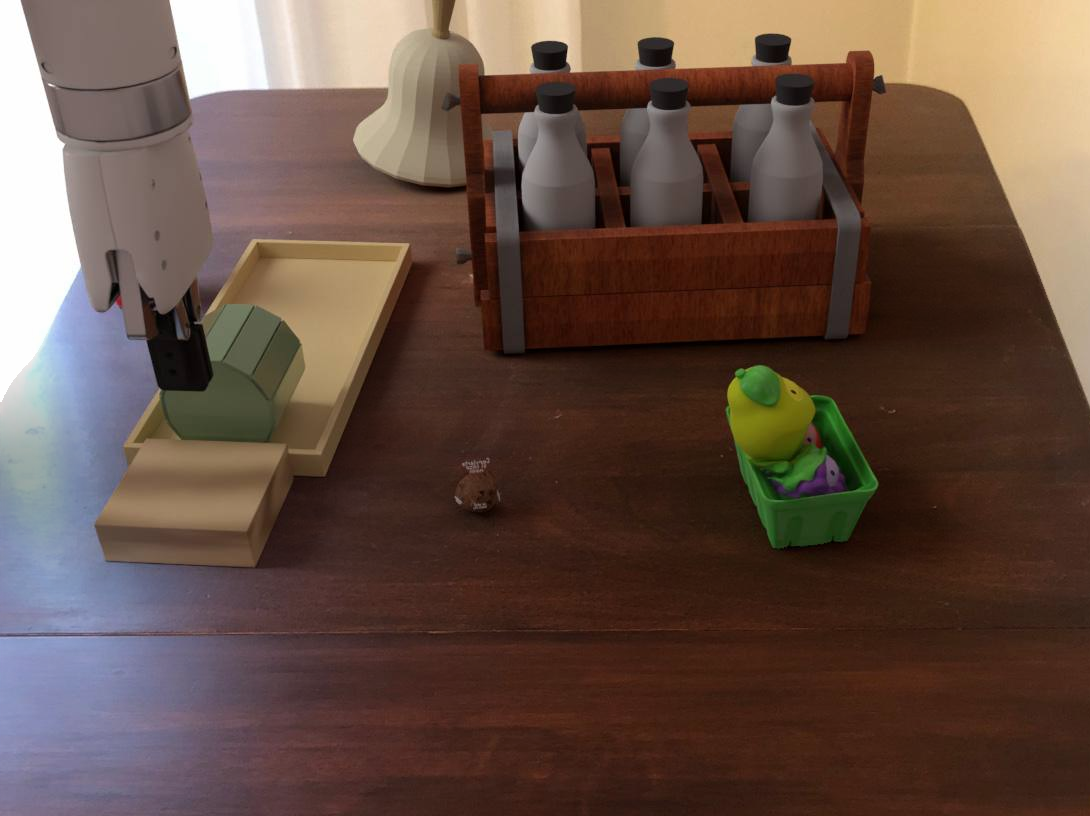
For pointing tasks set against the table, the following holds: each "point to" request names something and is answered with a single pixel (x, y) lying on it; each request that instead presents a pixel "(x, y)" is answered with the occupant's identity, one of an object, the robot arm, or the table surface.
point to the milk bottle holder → (667, 201)
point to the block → (196, 503)
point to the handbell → (422, 108)
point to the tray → (311, 333)
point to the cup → (239, 378)
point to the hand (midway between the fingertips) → (186, 384)
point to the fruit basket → (797, 459)
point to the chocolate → (477, 490)
